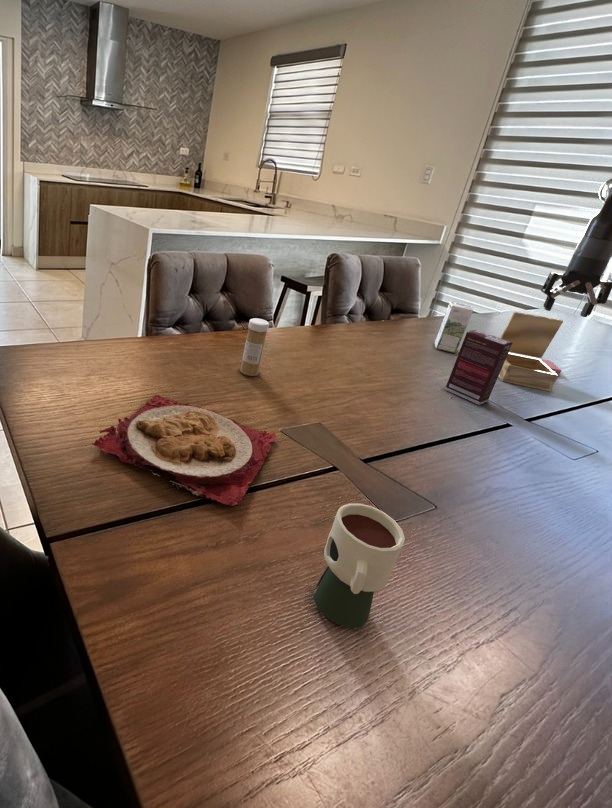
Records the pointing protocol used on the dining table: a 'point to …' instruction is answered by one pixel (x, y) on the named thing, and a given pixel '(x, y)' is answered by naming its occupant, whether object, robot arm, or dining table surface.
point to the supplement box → (478, 366)
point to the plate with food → (191, 448)
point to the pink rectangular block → (552, 366)
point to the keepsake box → (527, 372)
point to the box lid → (530, 333)
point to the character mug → (357, 563)
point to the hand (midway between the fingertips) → (564, 313)
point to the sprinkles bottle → (254, 346)
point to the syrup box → (453, 327)
